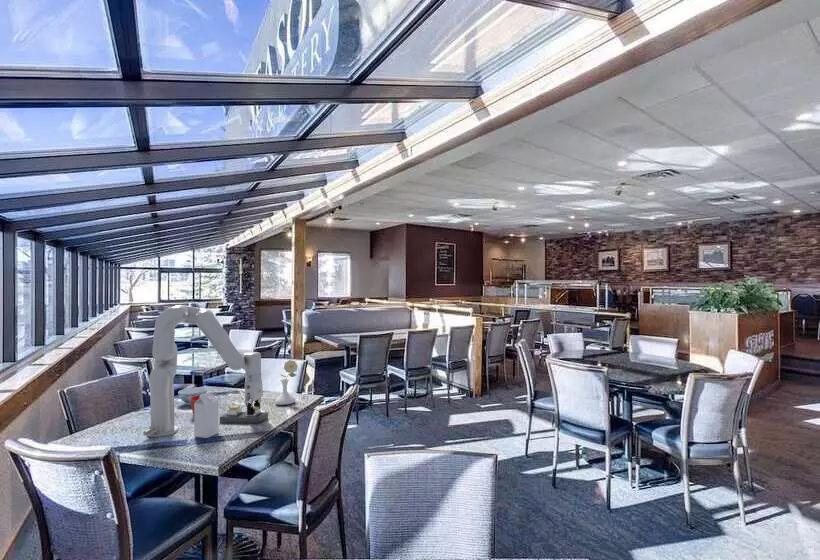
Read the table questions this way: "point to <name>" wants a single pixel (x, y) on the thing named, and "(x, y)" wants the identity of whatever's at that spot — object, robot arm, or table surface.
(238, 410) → the tan topped grey block
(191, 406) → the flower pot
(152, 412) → the robot arm
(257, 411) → the grey and tan block
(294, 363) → the flower in vase
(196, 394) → the chinaware
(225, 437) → the table surface
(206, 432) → the milk carton
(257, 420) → the dark grey slotted board
